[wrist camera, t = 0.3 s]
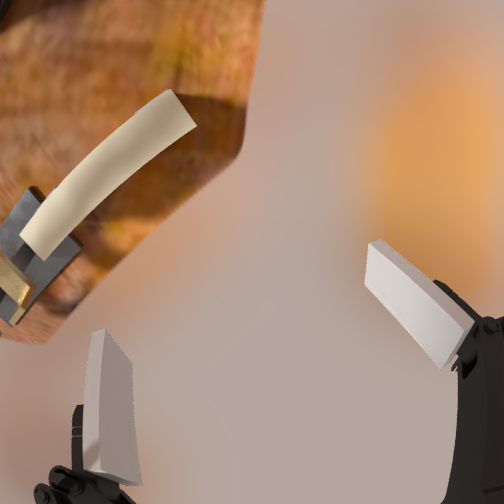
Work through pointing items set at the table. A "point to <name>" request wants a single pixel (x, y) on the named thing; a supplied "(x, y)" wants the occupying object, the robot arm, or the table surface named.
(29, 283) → the bracket stand
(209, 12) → the table surface
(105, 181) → the beige long block
